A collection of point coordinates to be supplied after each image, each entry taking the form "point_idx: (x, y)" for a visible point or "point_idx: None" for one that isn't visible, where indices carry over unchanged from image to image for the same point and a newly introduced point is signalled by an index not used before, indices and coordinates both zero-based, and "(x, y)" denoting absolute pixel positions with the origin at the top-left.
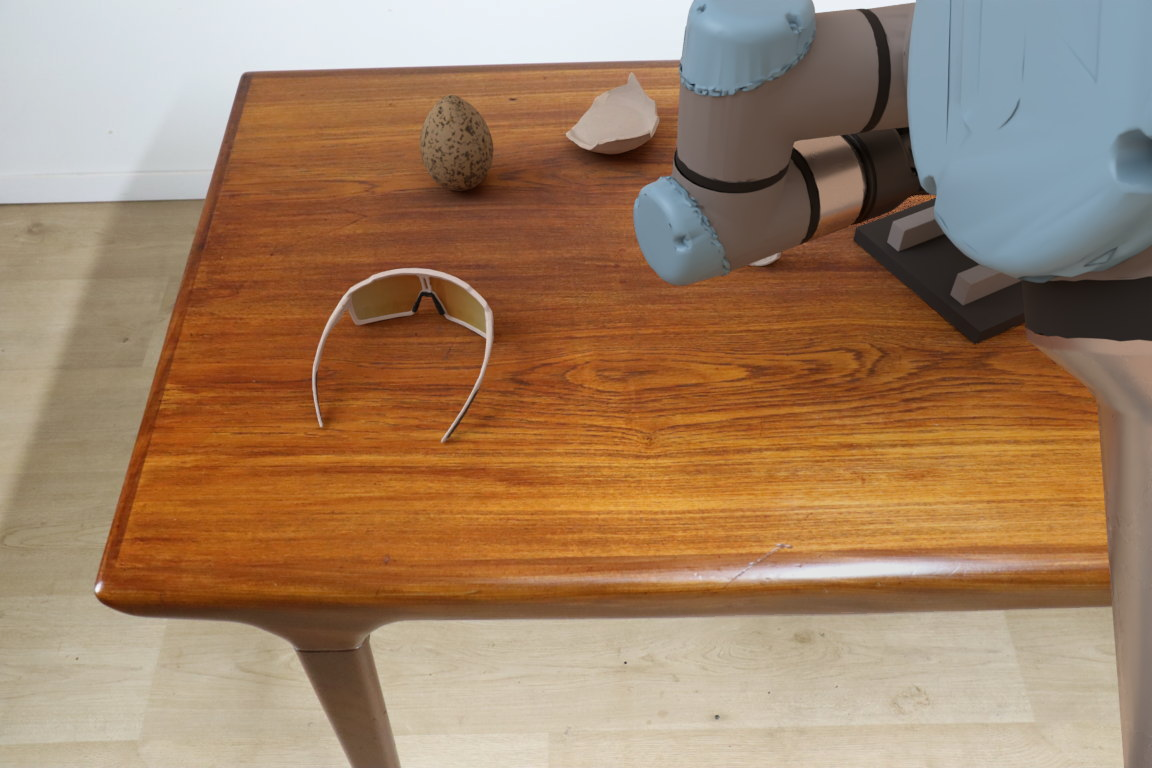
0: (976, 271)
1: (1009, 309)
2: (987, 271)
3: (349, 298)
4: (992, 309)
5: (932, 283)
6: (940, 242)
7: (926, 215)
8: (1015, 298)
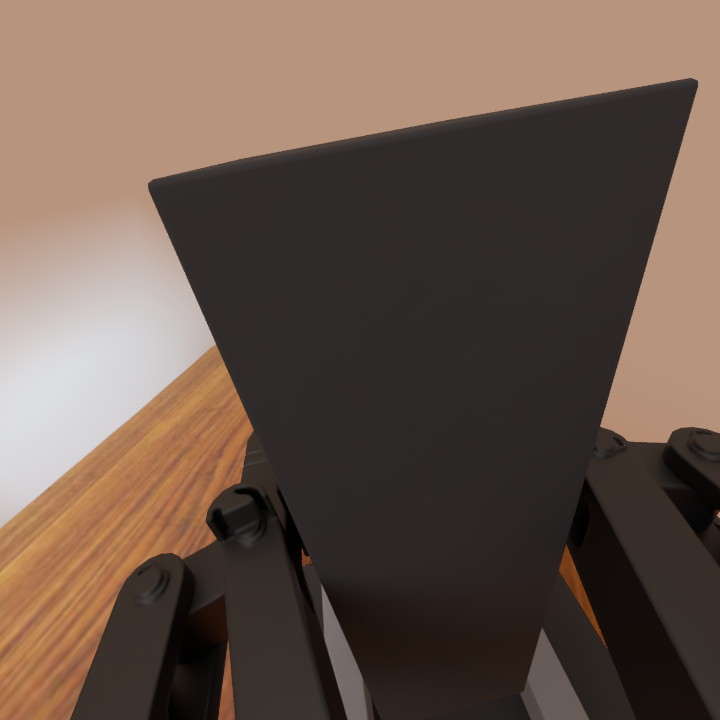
0: (558, 717)
1: (597, 667)
2: (557, 687)
3: None
4: (604, 709)
5: None
6: None
7: (348, 714)
8: (561, 634)
